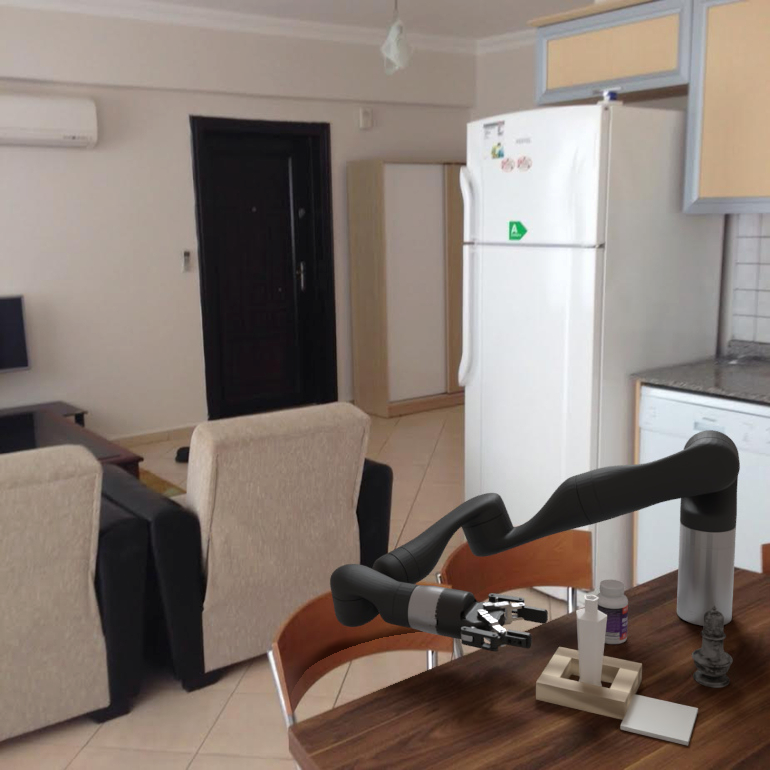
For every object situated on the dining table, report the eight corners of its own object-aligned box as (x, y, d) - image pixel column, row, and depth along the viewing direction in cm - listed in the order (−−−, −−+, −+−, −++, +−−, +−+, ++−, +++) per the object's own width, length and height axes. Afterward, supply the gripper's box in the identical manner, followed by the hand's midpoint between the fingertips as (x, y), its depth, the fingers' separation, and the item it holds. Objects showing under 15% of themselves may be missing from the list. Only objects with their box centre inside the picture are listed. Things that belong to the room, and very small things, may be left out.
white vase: (607, 685, 132) (609, 593, 129) (602, 700, 128) (604, 605, 125) (577, 679, 134) (579, 588, 131) (571, 693, 130) (572, 600, 127)
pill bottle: (628, 646, 144) (630, 591, 142) (595, 644, 145) (596, 589, 143) (625, 631, 149) (626, 578, 147) (593, 629, 150) (594, 576, 148)
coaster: (634, 697, 128) (634, 694, 128) (697, 712, 124) (697, 708, 124) (620, 729, 120) (620, 725, 120) (688, 745, 116) (688, 741, 116)
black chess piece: (735, 690, 129) (738, 615, 127) (693, 687, 131) (696, 613, 128) (727, 670, 135) (731, 598, 133) (688, 667, 136) (691, 596, 134)
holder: (559, 662, 139) (559, 646, 138) (641, 680, 133) (642, 663, 132) (535, 699, 128) (536, 682, 128) (624, 720, 122) (624, 702, 122)
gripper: (458, 614, 147) (552, 630, 139) (425, 653, 134) (525, 673, 127) (457, 572, 145) (552, 587, 138) (423, 608, 133) (525, 626, 125)
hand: (539, 628), depth 132 cm, fingers open, 8 cm apart
